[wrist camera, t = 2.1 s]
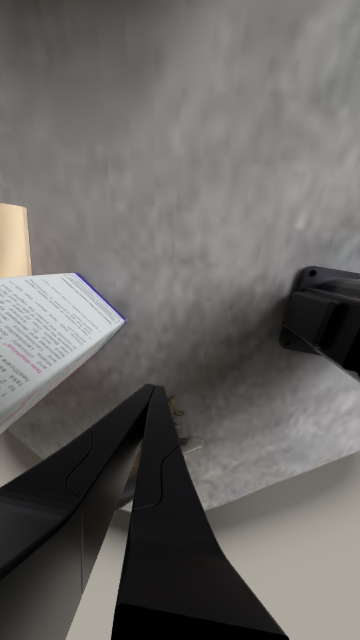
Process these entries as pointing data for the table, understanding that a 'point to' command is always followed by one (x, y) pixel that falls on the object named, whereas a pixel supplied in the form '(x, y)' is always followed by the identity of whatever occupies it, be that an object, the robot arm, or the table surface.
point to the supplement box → (47, 336)
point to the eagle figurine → (128, 492)
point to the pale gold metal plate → (14, 242)
